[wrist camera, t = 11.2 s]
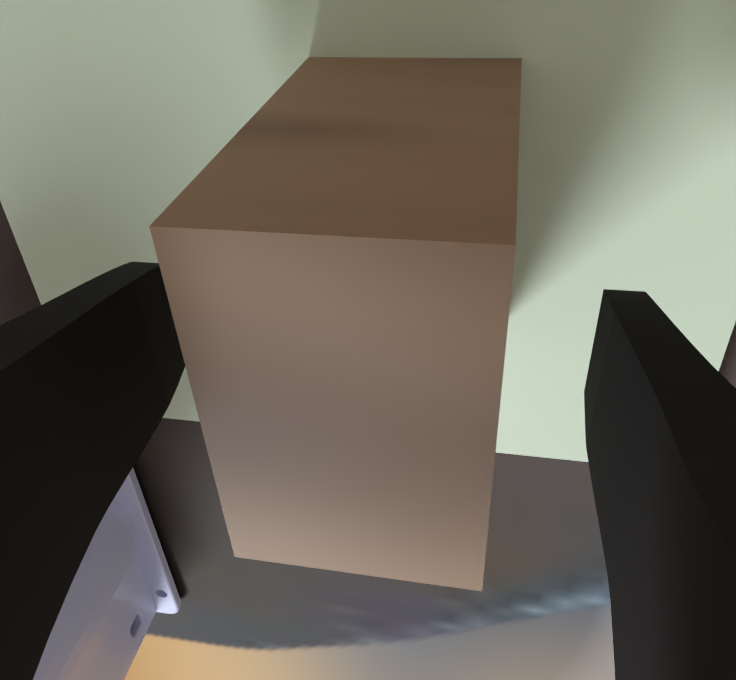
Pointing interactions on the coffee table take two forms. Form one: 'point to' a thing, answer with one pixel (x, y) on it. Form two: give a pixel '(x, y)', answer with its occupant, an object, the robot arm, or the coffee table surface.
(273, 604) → the coffee table surface
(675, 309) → the pitch
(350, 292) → the tall cardboard box
